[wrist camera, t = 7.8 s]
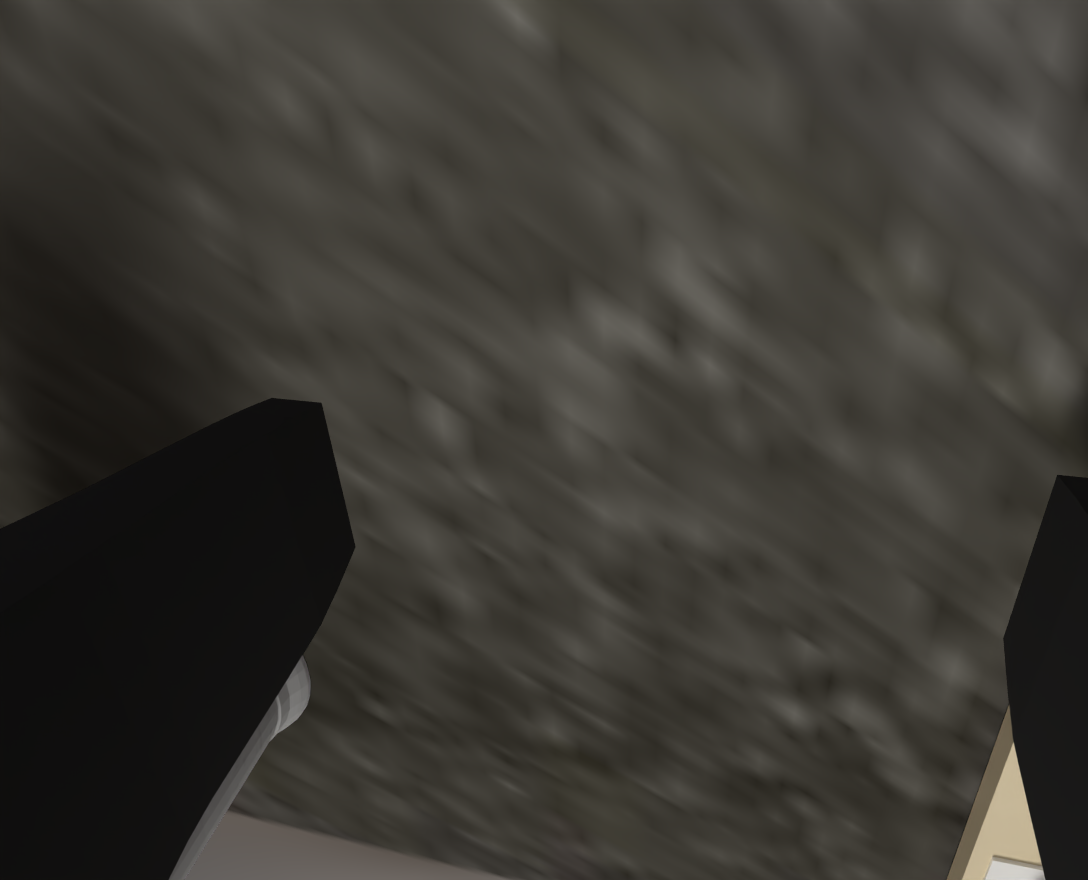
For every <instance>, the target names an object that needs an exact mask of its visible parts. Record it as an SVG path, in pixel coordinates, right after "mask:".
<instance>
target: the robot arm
mask: <svg viewBox="0 0 1088 880" xmlns="http://www.w3.org/2000/svg"><path fill="white" fill-rule="evenodd" d="M354 549H355V543H354V539H353V534H352V530H351V526H350V522H349V517H348V513H347V509H346V505H345V500H344V496H343V492H342V488H341V483H340V479H339V475H338V471H337V466H336V462H335V458H334V454H333V450H332V445H331V441H330V437H329V433H328V428H327V424H326V420H325V416H324V411H323V407H322V403H317V402H307V401H297V400H287V399H276V398H271V399H268V400H266V401H263V402H261V403H258V404H255V405H253V406H250V407H248V408H246V409H244V410H241V411H239V412H237V413H235V414H233V415H231V416H228V417H226V418H224V419H222V420H220V421H218V422H216V423H214V424H212V425H210V426H208V427H206V428H204V429H202V430H200V431H198V432H196V433H194V434H192V435H190V436H188V437H186V438H184V439H182V440H180V441H178V442H176V443H174V444H172V445H170V446H168V447H166V448H164V449H162V450H160V451H158V452H156V453H154V454H152V455H150V456H148V457H146V458H144V459H143V460H141V461H139V462H137V463H135V464H133V465H131V466H129V467H127V468H125V469H123V470H121V471H119V472H117V473H115V474H113V475H111V476H109V477H107V478H105V479H103V480H101V481H99V482H97V483H95V484H93V485H91V486H89V487H87V488H85V489H83V490H81V491H79V492H77V493H75V494H73V495H71V496H69V497H67V498H65V499H63V500H60V501H58V502H56V503H54V504H52V505H50V506H48V507H46V508H44V509H41V510H39V511H37V512H35V513H33V514H31V515H29V516H27V517H25V518H22V519H20V520H18V521H16V522H14V523H12V524H10V525H8V526H6V527H3V528H1V529H0V880H169V878H170V876H171V874H172V872H173V870H174V868H175V866H176V864H177V862H178V860H179V858H180V856H181V854H182V852H183V850H184V848H185V846H186V844H187V842H188V840H189V839H190V837H191V835H192V833H193V832H194V830H195V828H196V826H197V825H198V823H199V821H200V819H201V818H202V816H203V814H204V812H205V811H206V809H207V807H208V805H209V804H210V802H211V800H212V799H213V797H214V795H215V794H216V792H217V791H218V789H219V787H220V786H221V784H222V783H223V781H224V779H225V778H226V776H227V775H228V773H229V772H230V770H231V768H232V767H233V765H234V764H235V762H236V760H237V759H238V757H239V756H240V754H241V753H242V751H243V749H244V748H245V746H246V745H247V743H248V741H249V740H250V738H251V737H252V735H253V733H254V732H255V730H256V729H257V727H258V726H259V724H260V722H261V721H262V719H263V718H264V716H265V714H266V713H267V711H268V710H269V708H270V707H271V705H272V703H273V702H274V700H275V699H276V697H277V695H278V694H279V692H280V691H281V689H282V688H283V686H284V684H285V683H286V681H287V679H288V678H289V676H290V675H291V673H292V671H293V670H294V668H295V667H296V665H297V663H298V662H299V660H300V658H301V657H302V655H303V654H304V652H305V650H306V649H307V647H308V645H309V644H310V642H311V640H312V639H313V637H314V635H315V634H316V632H317V630H318V629H319V627H320V625H321V624H322V621H323V619H324V617H325V615H326V613H327V611H328V609H329V606H330V604H331V602H332V600H333V598H334V596H335V594H336V592H337V589H338V587H339V585H340V582H341V580H342V578H343V575H344V573H345V570H346V568H347V566H348V563H349V561H350V559H351V556H352V554H353V552H354ZM1003 639H1004V651H1005V663H1006V675H1007V687H1008V698H1009V707H1010V716H1011V726H1012V735H1013V742H1014V746H1015V751H1016V756H1017V760H1018V765H1019V769H1020V773H1021V778H1022V782H1023V786H1024V791H1025V795H1026V799H1027V804H1028V808H1029V812H1030V817H1031V821H1032V825H1033V830H1034V834H1035V838H1036V842H1037V846H1038V851H1039V855H1040V859H1041V863H1042V867H1043V872H1044V876H1045V880H1088V478H1083V477H1073V476H1063V475H1057V478H1056V481H1055V484H1054V487H1053V490H1052V493H1051V496H1050V499H1049V502H1048V505H1047V508H1046V511H1045V514H1044V517H1043V520H1042V523H1041V526H1040V529H1039V532H1038V535H1037V538H1036V541H1035V544H1034V547H1033V550H1032V553H1031V556H1030V559H1029V562H1028V565H1027V568H1026V571H1025V574H1024V577H1023V580H1022V584H1021V587H1020V590H1019V593H1018V596H1017V599H1016V602H1015V605H1014V608H1013V611H1012V614H1011V617H1010V620H1009V623H1008V626H1007V629H1006V632H1005V635H1004V638H1003Z"/></svg>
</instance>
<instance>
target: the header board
mask: <svg viewBox="0 0 1088 880" xmlns="http://www.w3.org/2000/svg"><path fill="white" fill-rule="evenodd" d="M947 880H1045V876H1044V872H1043V867H1042V863H1041V859H1040V855H1039V851H1038V846H1037V842H1036V838H1035V834H1034V830H1033V825H1032V821H1031V817H1030V812H1029V808H1028V804H1027V799H1026V795H1025V791H1024V786H1023V782H1022V778H1021V773H1020V769H1019V765H1018V760H1017V756H1016V751H1015V746H1014V742H1013V735H1012V726H1011V716H1010V707H1009V706H1008V709H1007V712H1006V714H1005V717H1004V720H1003V723H1002V726H1001V728H1000V731H999V734H998V737H997V740H996V742H995V745H994V748H993V751H992V754H991V756H990V759H989V762H988V765H987V768H986V771H985V773H984V776H983V779H982V782H981V785H980V787H979V790H978V793H977V796H976V799H975V801H974V804H973V807H972V810H971V813H970V815H969V818H968V821H967V824H966V827H965V829H964V832H963V835H962V838H961V841H960V843H959V846H958V849H957V852H956V855H955V857H954V860H953V863H952V866H951V869H950V871H949V874H948V877H947Z"/></svg>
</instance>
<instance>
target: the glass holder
mask: <svg viewBox="0 0 1088 880" xmlns="http://www.w3.org/2000/svg"><path fill="white" fill-rule="evenodd" d="M310 686H311V680H310V676H309V671H308V667H307V664H306V662H305V659H304V657H303V655H302V657H301V658H300V660H299V662H298V663H297V665H296V667H295V668H294V670H293V671H292V673H291V675H290V676H289V678H288V679H287V681H286V683H285V684H284V686H283V688H282V689H281V691H280V692H279V694H278V695H277V697H276V699H275V700H274V702H273V703H272V705H271V707H270V708H269V710H268V711H267V713H266V714H265V716H264V718H263V719H262V721H261V722H260V724H259V726H258V727H257V729H256V730H255V732H254V733H253V735H252V737H251V738H250V740H249V741H248V743H247V745H246V746H245V748H244V749H243V751H242V753H241V754H240V756H239V757H238V759H237V760H236V762H235V764H234V765H233V767H232V768H231V770H230V772H229V773H228V775H227V776H226V778H225V779H224V781H223V783H222V784H221V786H220V787H219V789H218V791H217V792H216V794H215V795H214V797H213V799H212V800H211V802H210V804H209V805H208V807H207V809H206V811H205V812H204V814H203V816H202V818H201V819H200V821H199V823H198V825H197V826H196V828H195V830H194V832H193V833H192V835H191V837H190V839H189V840H188V842H187V844H186V846H185V848H184V850H183V852H182V854H181V856H180V858H179V860H178V862H177V864H176V866H175V868H174V870H173V872H172V874H171V876H170V878H169V880H185V878H186V877H187V875H188V873H189V872H190V870H191V869H192V867H193V865H194V863H195V862H196V860H197V859H198V857H199V856H200V854H201V852H202V850H203V849H204V847H205V846H206V844H207V842H208V841H209V839H210V837H211V836H212V834H213V833H214V831H215V829H216V828H217V826H218V825H219V823H220V821H221V820H222V818H223V816H224V815H225V813H226V811H227V810H228V808H229V807H230V805H231V803H232V802H233V800H234V798H235V797H236V795H237V794H238V792H239V790H240V789H241V787H242V785H243V784H244V782H245V781H246V779H247V777H248V776H249V774H250V772H251V771H252V769H253V767H254V766H255V764H256V763H257V761H258V759H259V758H260V756H261V754H262V753H263V751H264V750H265V748H266V746H267V745H268V743H269V741H270V740H272V739H273V738H274V736H275V735H276V734H277V733H278V732H280V731H282V730H283V729H285V728H286V727H288V726H289V725H290V724H292V723H293V722H294V721H295V720H297V719H298V718H299V716H300V715H301V714H302V712H303V711H304V709H305V708H306V707H307V704H308V700H309V697H310Z"/></svg>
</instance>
